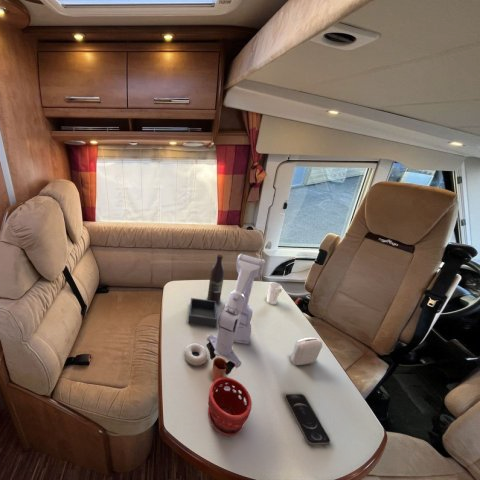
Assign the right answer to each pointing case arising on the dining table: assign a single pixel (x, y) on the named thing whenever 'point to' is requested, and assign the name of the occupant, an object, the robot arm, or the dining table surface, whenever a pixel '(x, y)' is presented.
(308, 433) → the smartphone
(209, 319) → the tote
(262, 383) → the dining table surface
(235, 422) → the flower pot
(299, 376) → the dining table surface
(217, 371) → the terracotta cup
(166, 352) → the dining table surface
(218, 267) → the wine bottle
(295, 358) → the photo printer
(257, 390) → the dining table surface
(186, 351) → the donut
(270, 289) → the cup
